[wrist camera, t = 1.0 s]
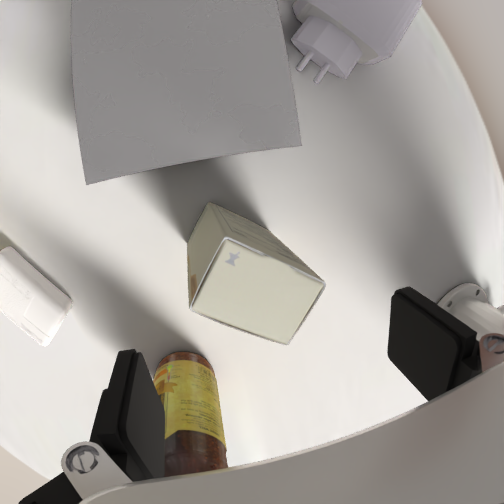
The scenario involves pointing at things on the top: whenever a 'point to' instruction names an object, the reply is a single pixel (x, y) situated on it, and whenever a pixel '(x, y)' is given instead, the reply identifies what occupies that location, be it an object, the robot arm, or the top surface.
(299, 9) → the charger
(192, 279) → the skincare box
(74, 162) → the top surface
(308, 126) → the top surface
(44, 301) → the soap
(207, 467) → the sauce bottle
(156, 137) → the pan
